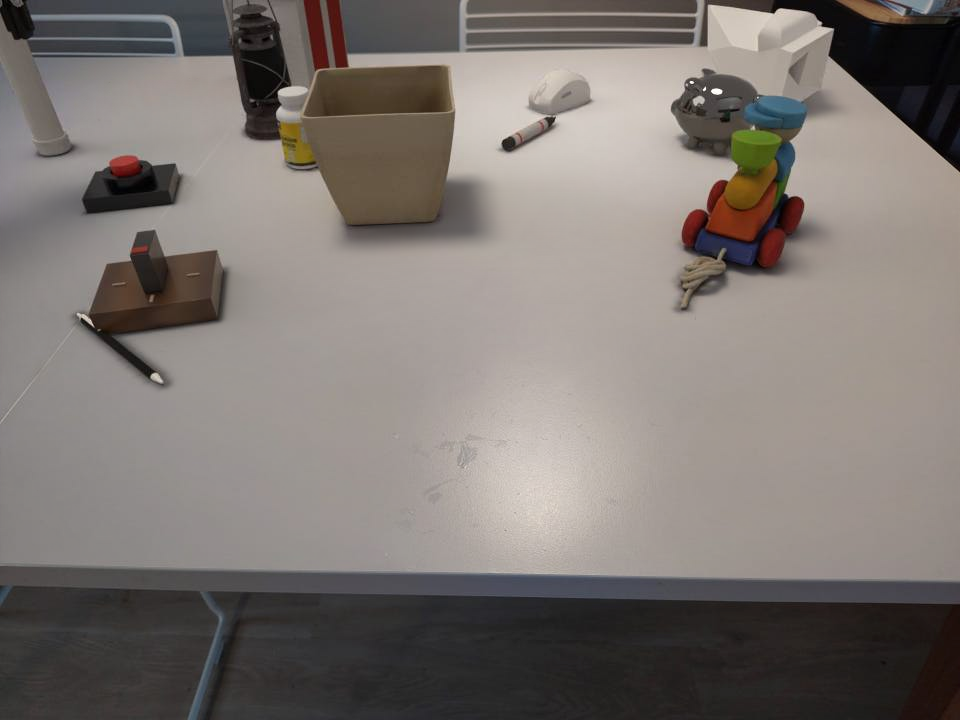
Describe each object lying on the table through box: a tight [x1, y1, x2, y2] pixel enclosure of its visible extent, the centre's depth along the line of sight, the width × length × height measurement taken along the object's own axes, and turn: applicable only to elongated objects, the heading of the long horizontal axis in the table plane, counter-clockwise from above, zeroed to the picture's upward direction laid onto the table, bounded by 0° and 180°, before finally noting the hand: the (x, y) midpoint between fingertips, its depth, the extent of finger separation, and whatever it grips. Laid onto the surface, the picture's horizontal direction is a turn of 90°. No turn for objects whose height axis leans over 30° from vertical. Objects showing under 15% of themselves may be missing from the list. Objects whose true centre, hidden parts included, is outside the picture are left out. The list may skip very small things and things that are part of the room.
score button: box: [108, 154, 141, 176], centre depth 102 cm, size 4×4×2 cm
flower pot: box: [300, 63, 456, 226], centre depth 95 cm, size 19×19×17 cm
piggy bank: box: [670, 67, 765, 156], centre depth 112 cm, size 11×15×12 cm
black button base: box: [81, 159, 180, 214], centre depth 104 cm, size 12×10×4 cm
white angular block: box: [707, 4, 835, 103], centre depth 129 cm, size 17×24×17 cm
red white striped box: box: [221, 0, 350, 102], centre depth 133 cm, size 16×18×27 cm
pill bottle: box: [276, 86, 318, 170], centre depth 109 cm, size 6×6×12 cm
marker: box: [501, 116, 557, 151], centre depth 119 cm, size 15×2×2 cm, turn 142°
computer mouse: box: [528, 68, 591, 116], centre depth 130 cm, size 6×13×6 cm, turn 131°
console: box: [88, 249, 224, 335], centre depth 81 cm, size 13×11×3 cm
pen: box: [76, 312, 165, 385], centre depth 75 cm, size 1×19×1 cm, turn 49°
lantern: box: [226, 0, 292, 140], centre depth 115 cm, size 12×11×30 cm
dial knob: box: [129, 229, 168, 293], centre depth 78 cm, size 6×2×5 cm, turn 13°
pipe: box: [0, 0, 72, 157], centre depth 109 cm, size 6×6×30 cm
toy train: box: [679, 95, 809, 310], centre depth 83 cm, size 12×29×17 cm, turn 147°
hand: (24, 37), depth 93 cm, fingers closed
